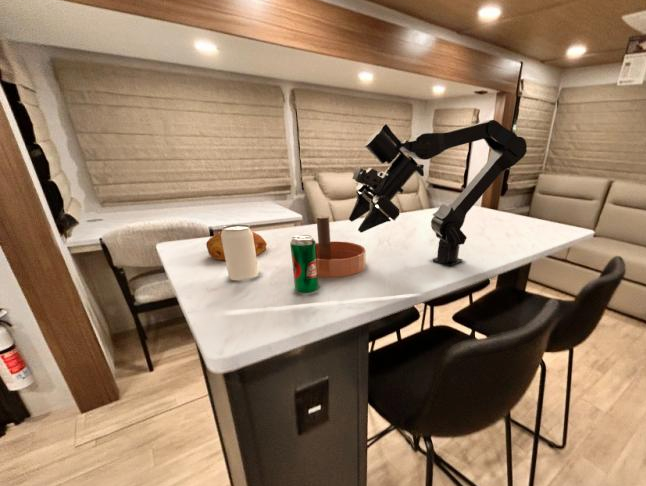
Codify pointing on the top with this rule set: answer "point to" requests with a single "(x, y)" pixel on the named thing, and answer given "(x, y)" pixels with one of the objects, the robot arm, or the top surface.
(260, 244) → the croissant
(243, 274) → the can
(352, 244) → the bowl
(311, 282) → the soda can
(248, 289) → the top surface
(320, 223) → the brown tall block
